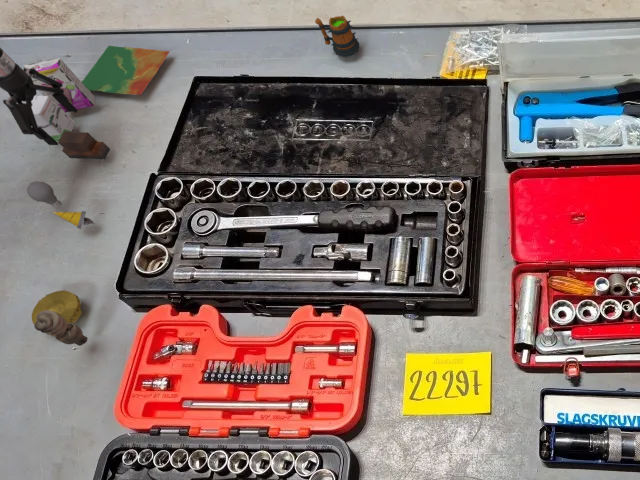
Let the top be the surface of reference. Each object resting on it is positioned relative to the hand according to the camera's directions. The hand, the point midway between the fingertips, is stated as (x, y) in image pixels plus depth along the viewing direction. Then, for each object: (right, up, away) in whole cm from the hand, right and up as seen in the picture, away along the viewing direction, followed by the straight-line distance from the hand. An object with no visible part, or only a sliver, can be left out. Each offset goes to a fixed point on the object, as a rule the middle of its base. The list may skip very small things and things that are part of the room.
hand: (63, 127), depth 165 cm
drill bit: (+8, -31, -2) cm, 32 cm away
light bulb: (-2, -24, +1) cm, 24 cm away
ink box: (-12, +3, +15) cm, 20 cm away
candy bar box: (-11, +14, +20) cm, 27 cm away
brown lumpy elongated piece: (+22, -65, -19) cm, 71 cm away
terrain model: (-1, +30, +28) cm, 41 cm away
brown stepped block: (0, -5, +10) cm, 12 cm away
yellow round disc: (+12, -57, -15) cm, 60 cm away
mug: (+77, +39, +31) cm, 91 cm away
